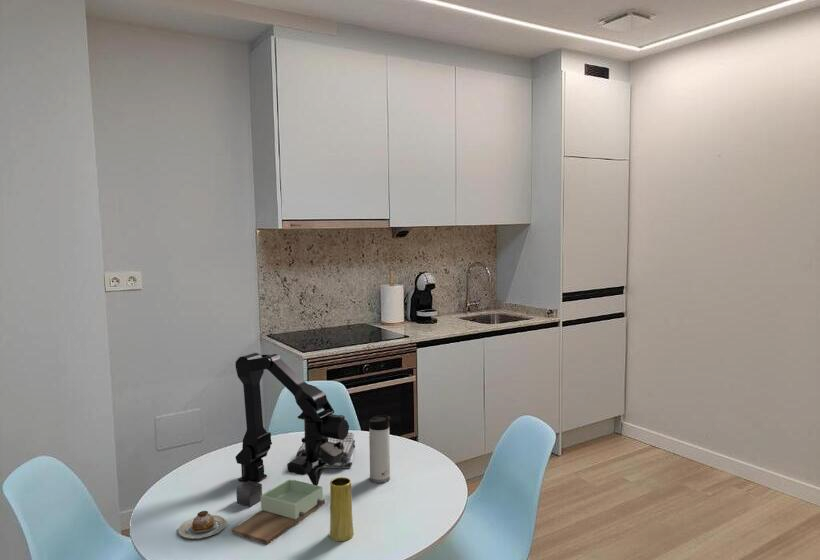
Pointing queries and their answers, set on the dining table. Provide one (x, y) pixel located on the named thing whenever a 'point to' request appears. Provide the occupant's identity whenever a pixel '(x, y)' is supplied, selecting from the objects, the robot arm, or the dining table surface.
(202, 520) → the pastry
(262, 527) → the track
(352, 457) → the towel
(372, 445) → the travel mug
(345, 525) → the vase
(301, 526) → the dining table surface
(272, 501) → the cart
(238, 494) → the block
